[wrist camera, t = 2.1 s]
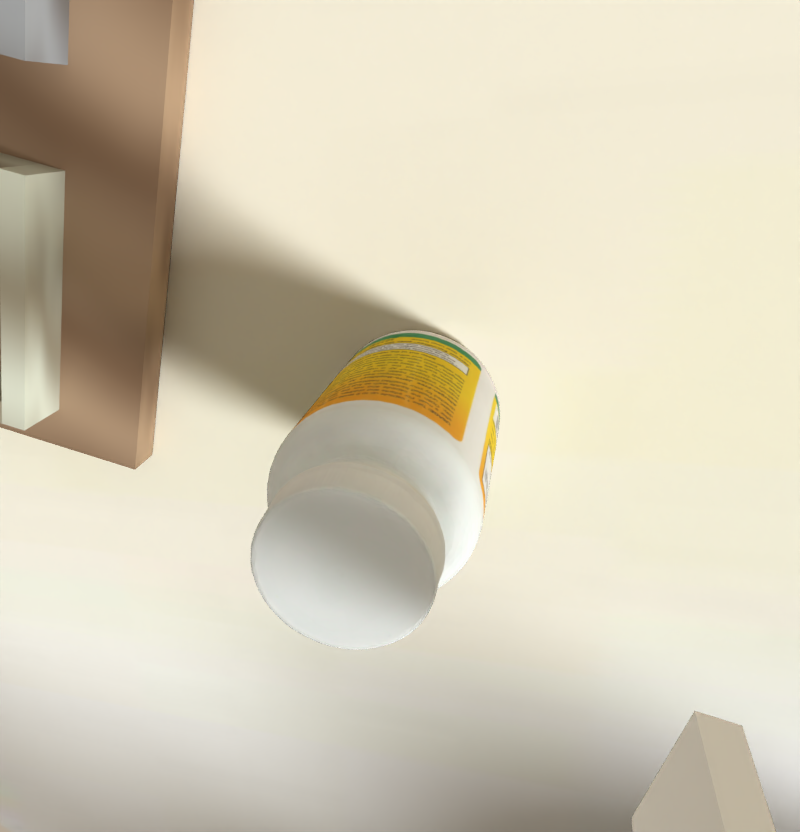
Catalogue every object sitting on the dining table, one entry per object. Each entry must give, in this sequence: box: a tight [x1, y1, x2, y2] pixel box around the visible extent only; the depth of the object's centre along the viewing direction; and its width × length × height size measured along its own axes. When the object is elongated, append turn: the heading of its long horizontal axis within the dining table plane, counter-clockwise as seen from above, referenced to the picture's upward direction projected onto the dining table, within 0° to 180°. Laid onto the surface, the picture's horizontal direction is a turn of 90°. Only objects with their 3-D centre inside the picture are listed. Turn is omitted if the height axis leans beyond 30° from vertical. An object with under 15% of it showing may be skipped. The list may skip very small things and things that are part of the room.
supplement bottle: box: [251, 330, 500, 650], centre depth 19 cm, size 5×5×10 cm
